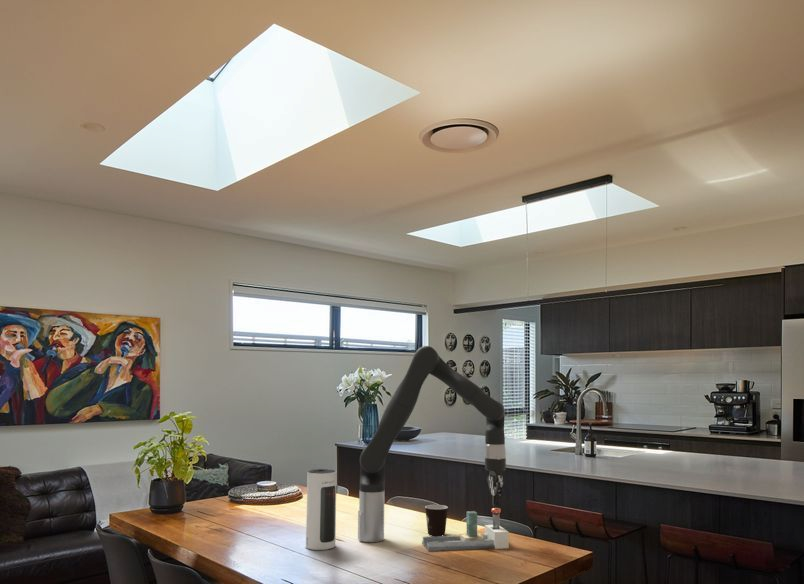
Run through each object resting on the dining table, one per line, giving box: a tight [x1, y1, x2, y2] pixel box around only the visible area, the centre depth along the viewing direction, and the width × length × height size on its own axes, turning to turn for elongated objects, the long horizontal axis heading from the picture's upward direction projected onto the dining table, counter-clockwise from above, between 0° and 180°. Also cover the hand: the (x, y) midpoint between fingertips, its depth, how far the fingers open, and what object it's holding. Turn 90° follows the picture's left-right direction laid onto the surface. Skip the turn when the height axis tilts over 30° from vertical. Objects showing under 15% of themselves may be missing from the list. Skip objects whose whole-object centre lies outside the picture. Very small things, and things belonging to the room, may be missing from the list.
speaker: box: [305, 468, 337, 551], centre depth 217 cm, size 11×10×26 cm
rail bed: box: [421, 533, 495, 552], centre depth 218 cm, size 27×10×3 cm, turn 101°
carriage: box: [459, 510, 484, 540], centre depth 219 cm, size 7×5×10 cm
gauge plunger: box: [491, 507, 501, 530], centre depth 221 cm, size 3×3×9 cm
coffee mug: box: [424, 504, 449, 536], centre depth 236 cm, size 12×9×10 cm
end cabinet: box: [484, 524, 510, 550], centre depth 220 cm, size 5×11×6 cm, turn 11°
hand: (496, 506), depth 222 cm, fingers closed
